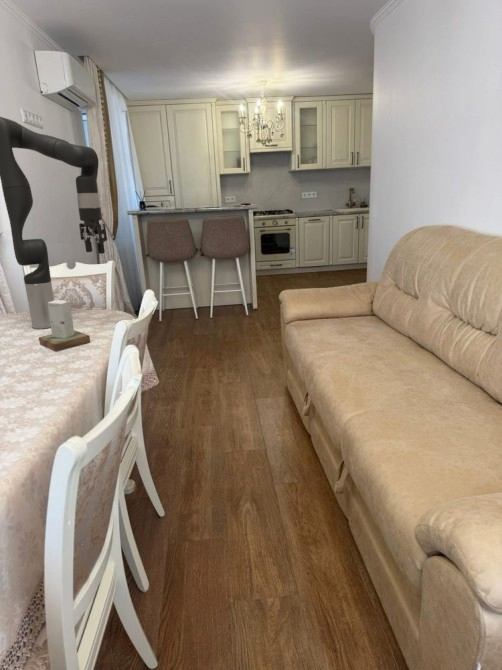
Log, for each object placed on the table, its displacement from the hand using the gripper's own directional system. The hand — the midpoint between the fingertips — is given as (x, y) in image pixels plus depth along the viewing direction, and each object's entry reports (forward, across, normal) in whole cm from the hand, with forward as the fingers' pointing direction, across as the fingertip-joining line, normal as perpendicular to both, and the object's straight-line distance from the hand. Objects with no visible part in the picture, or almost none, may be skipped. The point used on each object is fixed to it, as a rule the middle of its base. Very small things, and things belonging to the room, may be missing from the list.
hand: (95, 252), depth 163 cm
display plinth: (+28, +8, -20) cm, 35 cm away
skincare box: (+26, +8, -20) cm, 34 cm away
